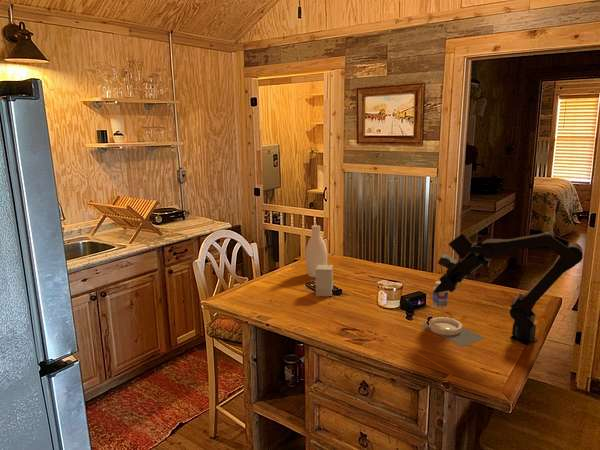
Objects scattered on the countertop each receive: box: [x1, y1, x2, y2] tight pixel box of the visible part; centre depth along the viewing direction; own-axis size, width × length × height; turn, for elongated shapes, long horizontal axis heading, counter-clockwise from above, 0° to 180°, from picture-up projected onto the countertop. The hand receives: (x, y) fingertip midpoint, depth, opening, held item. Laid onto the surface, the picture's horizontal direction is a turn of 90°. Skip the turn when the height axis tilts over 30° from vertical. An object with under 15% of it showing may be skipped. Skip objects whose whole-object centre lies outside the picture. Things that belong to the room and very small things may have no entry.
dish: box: [428, 316, 463, 335], centre depth 172 cm, size 12×12×2 cm
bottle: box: [304, 224, 328, 279], centre depth 233 cm, size 11×11×25 cm
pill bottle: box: [432, 280, 449, 310], centre depth 175 cm, size 5×5×10 cm
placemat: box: [419, 322, 486, 347], centre depth 170 cm, size 20×12×1 cm, turn 31°
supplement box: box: [315, 264, 334, 297], centre depth 209 cm, size 7×7×13 cm
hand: (436, 289), depth 176 cm, fingers closed on pill bottle, 5 cm apart
